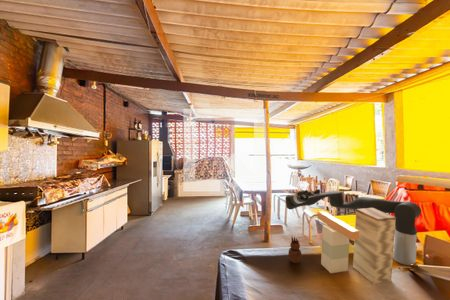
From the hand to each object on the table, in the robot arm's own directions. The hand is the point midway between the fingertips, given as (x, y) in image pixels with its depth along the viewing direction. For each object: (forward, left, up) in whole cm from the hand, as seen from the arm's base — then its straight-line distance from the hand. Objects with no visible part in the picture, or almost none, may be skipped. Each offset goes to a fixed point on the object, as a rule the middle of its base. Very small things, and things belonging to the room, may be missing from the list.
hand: (313, 191), depth 138 cm
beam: (+2, +23, -13) cm, 27 cm away
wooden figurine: (+20, +14, -35) cm, 43 cm away
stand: (-13, +32, -35) cm, 49 cm away
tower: (+2, +23, -35) cm, 42 cm away
